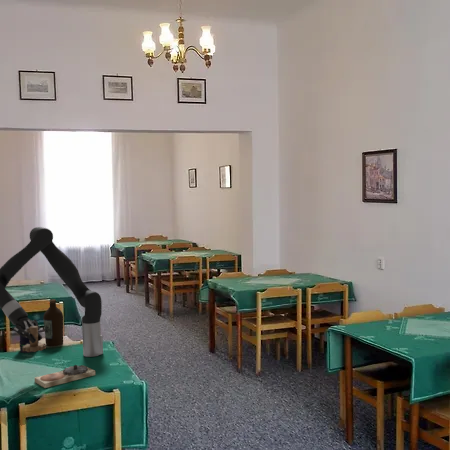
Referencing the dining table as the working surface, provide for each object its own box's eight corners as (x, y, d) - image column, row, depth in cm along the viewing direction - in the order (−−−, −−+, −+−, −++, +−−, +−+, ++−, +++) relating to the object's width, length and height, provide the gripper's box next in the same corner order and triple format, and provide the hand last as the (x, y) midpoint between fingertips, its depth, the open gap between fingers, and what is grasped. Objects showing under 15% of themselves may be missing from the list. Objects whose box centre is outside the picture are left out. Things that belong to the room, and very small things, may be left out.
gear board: (84, 369, 261) (83, 359, 261) (95, 374, 253) (94, 364, 253) (34, 382, 245) (34, 371, 245) (45, 388, 237) (44, 377, 237)
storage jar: (42, 350, 297) (41, 322, 296) (24, 354, 290) (23, 326, 290) (34, 346, 304) (32, 320, 304) (16, 350, 298) (15, 323, 297)
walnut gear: (40, 344, 256) (40, 323, 255) (49, 349, 248) (48, 327, 248) (19, 348, 249) (18, 327, 249) (27, 353, 242) (26, 330, 241)
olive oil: (56, 340, 316) (54, 297, 315) (68, 343, 310) (66, 299, 309) (40, 344, 308) (38, 300, 306) (52, 347, 301) (50, 302, 300)
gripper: (8, 309, 244) (32, 339, 240) (29, 304, 257) (52, 331, 254) (-1, 321, 246) (22, 350, 242) (20, 314, 259) (43, 342, 256)
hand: (37, 340), depth 248 cm, fingers closed on walnut gear, 3 cm apart
